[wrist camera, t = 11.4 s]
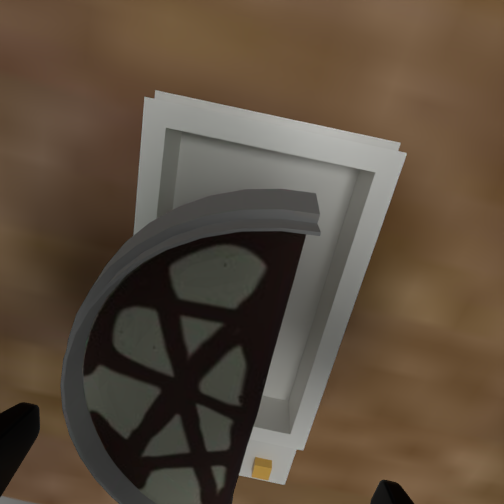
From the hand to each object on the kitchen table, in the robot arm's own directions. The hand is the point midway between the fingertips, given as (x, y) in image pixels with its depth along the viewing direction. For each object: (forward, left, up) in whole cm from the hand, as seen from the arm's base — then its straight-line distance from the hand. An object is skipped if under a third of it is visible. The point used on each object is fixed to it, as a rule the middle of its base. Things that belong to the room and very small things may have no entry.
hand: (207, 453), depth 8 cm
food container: (-2, +1, -11) cm, 11 cm away
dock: (0, -3, -12) cm, 12 cm away
